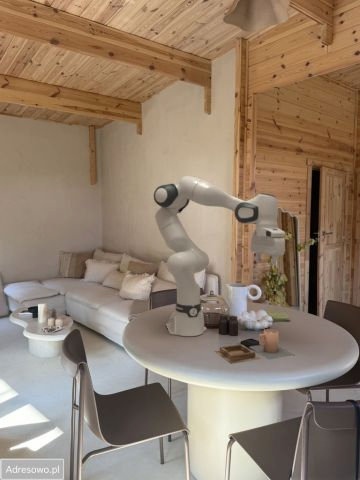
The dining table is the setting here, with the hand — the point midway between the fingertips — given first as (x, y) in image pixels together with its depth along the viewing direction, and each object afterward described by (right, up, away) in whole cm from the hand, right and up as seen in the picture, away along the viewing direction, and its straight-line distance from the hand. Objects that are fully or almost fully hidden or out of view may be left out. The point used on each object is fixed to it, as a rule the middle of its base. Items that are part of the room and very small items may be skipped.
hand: (266, 264), depth 156 cm
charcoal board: (0, -36, -8) cm, 37 cm away
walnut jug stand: (-14, -36, -13) cm, 41 cm away
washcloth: (+13, -33, +43) cm, 56 cm away
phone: (+5, -34, +29) cm, 45 cm away
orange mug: (-1, -34, -9) cm, 35 cm away
